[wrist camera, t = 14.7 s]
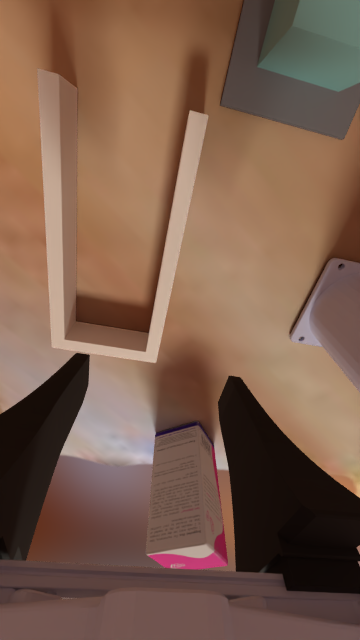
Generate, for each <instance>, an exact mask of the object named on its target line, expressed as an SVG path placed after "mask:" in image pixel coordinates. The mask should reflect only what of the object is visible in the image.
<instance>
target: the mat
mask: <svg viewBox="0 0 360 640" xmlns="http://www.w3.org/2000/svg"><path fill="white" fill-rule="evenodd" d="M274 2H275V0H244V2H243V6H242V11H241V15H240V20H239V24H238V28H237V33H236V37H235V42H234V46H233V50H232V55H231V59H230V64H229V68H228V72H227V77H226V81H225V86H224V90H223V94H222V99H221V103H220V106H224V107H227V108H231V109H234V110H238V111H241V112H245V113H249V114H252V115H256V116H259V117H263V118H266V119H270V120H273V121H277V122H280V123H284V124H288V125H291V126H295V127H298V128H302V129H305V130H309V131H312V132H316V133H320V134H323V135H327V136H330V137H334V138H337V139H341V140H342V139H344V138H345V135H346V133H347V131H348V129H349V126H350V124H351V122H352V120H353V117H354V115H355V113H356V110H357V108H358V106H359V104H360V83H358V84H355V85H353V86H351V87H348V88H346V89H344V90H342V91H339V92H337V91H334V90H331V89H328V88H324V87H321V86H318V85H315V84H311V83H308V82H305V81H302V80H298V79H295V78H292V77H289V76H285V75H282V74H279V73H276V72H272V71H269V70H266V69H263V68H259V67H257V65H258V62H259V58H260V54H261V50H262V47H263V43H264V39H265V35H266V32H267V28H268V24H269V21H270V17H271V13H272V9H273V6H274Z"/></svg>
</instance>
